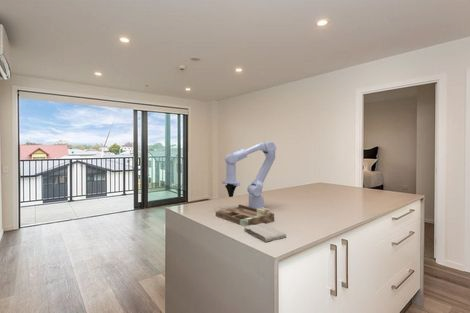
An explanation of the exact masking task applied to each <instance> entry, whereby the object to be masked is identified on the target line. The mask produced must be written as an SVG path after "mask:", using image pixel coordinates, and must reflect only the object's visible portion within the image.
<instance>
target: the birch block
mask: <svg viewBox="0 0 470 313" xmlns="http://www.w3.org/2000/svg"><path fill="white" fill-rule="evenodd" d="M270 213H271V209H270V208H266V207H264V208H259V209H257V217H260V216H264V215H268V214H270Z"/></svg>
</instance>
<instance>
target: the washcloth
mask: <svg viewBox="0 0 470 313" xmlns="http://www.w3.org/2000/svg"><path fill="white" fill-rule="evenodd" d="M243 230H244V231H245V232H246V233H247V232H248V233H247V234H248V235H250V236H253V237H255V239H256V238H257V239H258V240H259V241H262V242H265V243H267V242H272V241H276V240H281V239H285V238H287V234H286V232H283V231H282V230H279V229H278V228H276V227H273V226H271V225H269V224H268V223H266V224H265V223H261V224H257V225H249V226H246V227H245V226H244V229H243Z"/></svg>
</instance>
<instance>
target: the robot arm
mask: <svg viewBox="0 0 470 313" xmlns="http://www.w3.org/2000/svg"><path fill="white" fill-rule="evenodd" d="M276 150H277V146H276V144H275V143H274V141H271V140H270V141H263V142H260V143H257V144H255V145H253V146H251V147H248V148H246V149H245V148H239V149H238V150H237V151H235V152H231V153H229V154H227V155H226V156H225V158H224V161H225V179H223V180H221V182H222V185H223V184H225V186H224V187H225V189H226V191H227V195H228V198H233V197H234V193H235V190H236V188H237V187H240V186H241V183H240V182H238V181H236V179H237V178H236V177H237V176H236V174H237V170H236V163H237V162H240V161H242V160H244V159H245V158H247V157H248V155H251V154H252V153H255V152H258V151H262V153H263V154H264V155H265V159H264V161H263V163H262V165H261V167H260V169H259V171H258V173H257V175H256V177H255V179H254V180H253V181H251V183H250V185H248V187H247V188H246V190H247V191H246V192H247V193H248V207H251V208H255V209H259V208H265V198H264V196H263V195H262V193H263V188H264V184H263V183H264V181H265V179H266V177H267V175H268V174H269V172H270V169H271V168H272V166H273V164H274V161H275V160H276Z"/></svg>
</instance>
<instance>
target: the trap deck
mask: <svg viewBox="0 0 470 313" xmlns="http://www.w3.org/2000/svg"><path fill="white" fill-rule="evenodd" d="M237 206H238V207H232V208H228V209H223V210H218V211H215V217H218V218H220V219H223V220H226V221H228V222H230V223H231V222H232V223H234V224H237V225H240V226H243V227H244V228H245V227H246V226H249V225H257V224H261V223H265V224H269V223H272V222H275V213H274V212H270V214H268V215H264V216H260V217H257V209H255V208H251V207H249V206H246V205H242V204H238V205H237Z"/></svg>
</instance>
